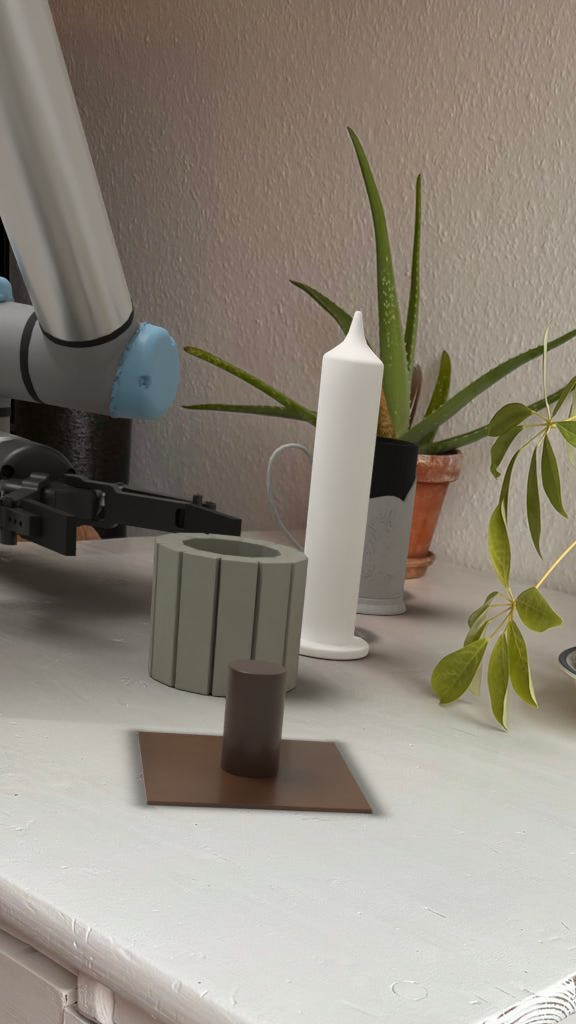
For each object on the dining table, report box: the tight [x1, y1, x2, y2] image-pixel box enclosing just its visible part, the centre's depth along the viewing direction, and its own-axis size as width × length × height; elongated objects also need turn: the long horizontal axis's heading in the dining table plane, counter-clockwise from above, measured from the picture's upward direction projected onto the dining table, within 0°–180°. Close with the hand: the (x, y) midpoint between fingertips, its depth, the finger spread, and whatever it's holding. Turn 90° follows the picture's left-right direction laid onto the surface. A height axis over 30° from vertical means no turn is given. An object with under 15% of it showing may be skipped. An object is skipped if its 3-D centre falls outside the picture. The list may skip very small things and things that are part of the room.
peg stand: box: [137, 660, 373, 814], centre depth 67 cm, size 11×11×7 cm
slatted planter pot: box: [147, 532, 308, 698], centre depth 88 cm, size 10×10×9 cm
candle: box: [299, 310, 385, 661], centre depth 98 cm, size 7×7×25 cm
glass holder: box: [266, 435, 420, 616], centre depth 117 cm, size 9×14×15 cm, turn 113°
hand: (158, 537), depth 93 cm, fingers open, 13 cm apart
